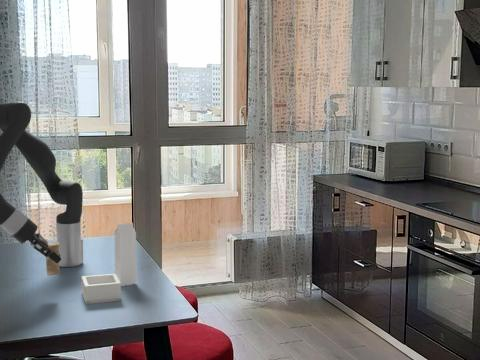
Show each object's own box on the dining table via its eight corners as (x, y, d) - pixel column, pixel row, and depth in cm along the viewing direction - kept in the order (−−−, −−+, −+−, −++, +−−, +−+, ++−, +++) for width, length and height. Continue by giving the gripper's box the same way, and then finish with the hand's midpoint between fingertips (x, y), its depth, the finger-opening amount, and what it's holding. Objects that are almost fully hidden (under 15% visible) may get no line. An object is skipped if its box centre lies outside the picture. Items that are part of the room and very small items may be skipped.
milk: (136, 284, 219) (136, 224, 216) (119, 286, 216) (119, 225, 213) (130, 279, 224) (130, 221, 221) (114, 281, 221) (114, 222, 218)
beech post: (47, 275, 201) (46, 245, 199) (46, 271, 204) (45, 242, 203) (59, 274, 202) (58, 244, 201) (59, 270, 206) (58, 241, 204)
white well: (85, 304, 197) (85, 286, 197) (81, 293, 208) (81, 276, 207) (120, 300, 201) (120, 283, 201) (115, 290, 212) (115, 273, 211)
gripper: (27, 222, 191) (68, 256, 197) (26, 213, 204) (65, 245, 210) (10, 239, 190) (52, 273, 196) (10, 229, 203) (49, 262, 209)
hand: (58, 259), depth 203 cm, fingers closed on beech post, 4 cm apart
